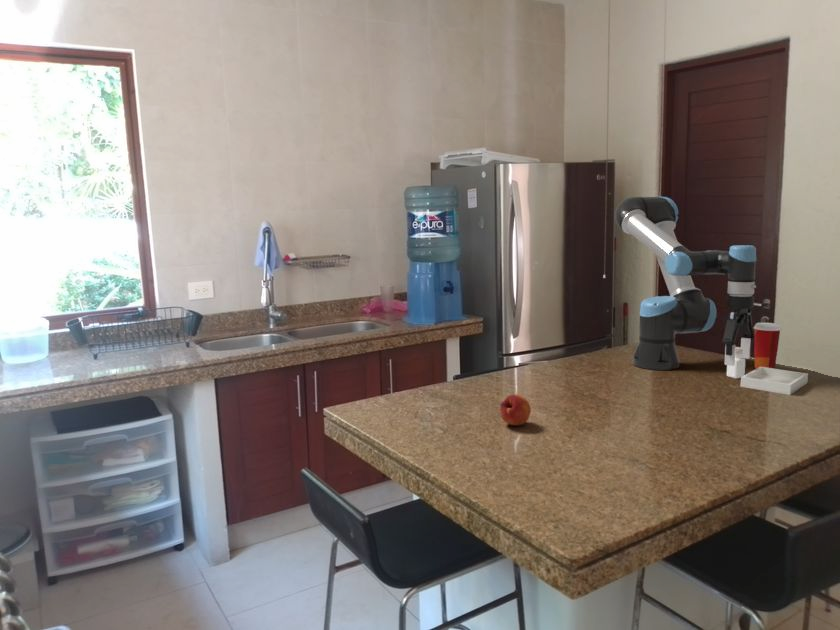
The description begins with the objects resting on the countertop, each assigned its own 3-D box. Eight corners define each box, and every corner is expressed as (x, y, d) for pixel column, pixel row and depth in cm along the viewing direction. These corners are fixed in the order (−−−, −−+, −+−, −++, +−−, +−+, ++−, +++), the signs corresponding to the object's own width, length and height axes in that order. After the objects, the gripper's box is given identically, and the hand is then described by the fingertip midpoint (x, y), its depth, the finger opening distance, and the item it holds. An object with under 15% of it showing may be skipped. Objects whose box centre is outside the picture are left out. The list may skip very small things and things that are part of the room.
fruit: (493, 422, 171) (493, 392, 170) (520, 418, 174) (520, 388, 173) (509, 431, 164) (509, 400, 162) (537, 427, 167) (537, 396, 166)
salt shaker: (736, 379, 210) (737, 349, 208) (725, 376, 213) (727, 347, 212) (745, 377, 211) (747, 348, 210) (734, 375, 215) (736, 346, 213)
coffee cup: (772, 365, 226) (775, 322, 224) (782, 371, 218) (786, 326, 216) (746, 365, 227) (749, 322, 225) (756, 371, 219) (759, 326, 217)
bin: (740, 386, 201) (741, 377, 201) (760, 375, 213) (760, 366, 213) (789, 394, 192) (790, 384, 191) (807, 383, 204) (808, 373, 204)
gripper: (738, 299, 197) (735, 370, 200) (766, 292, 214) (763, 356, 217) (713, 298, 202) (709, 366, 205) (742, 290, 219) (739, 353, 222)
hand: (737, 361), depth 211 cm, fingers open, 13 cm apart
